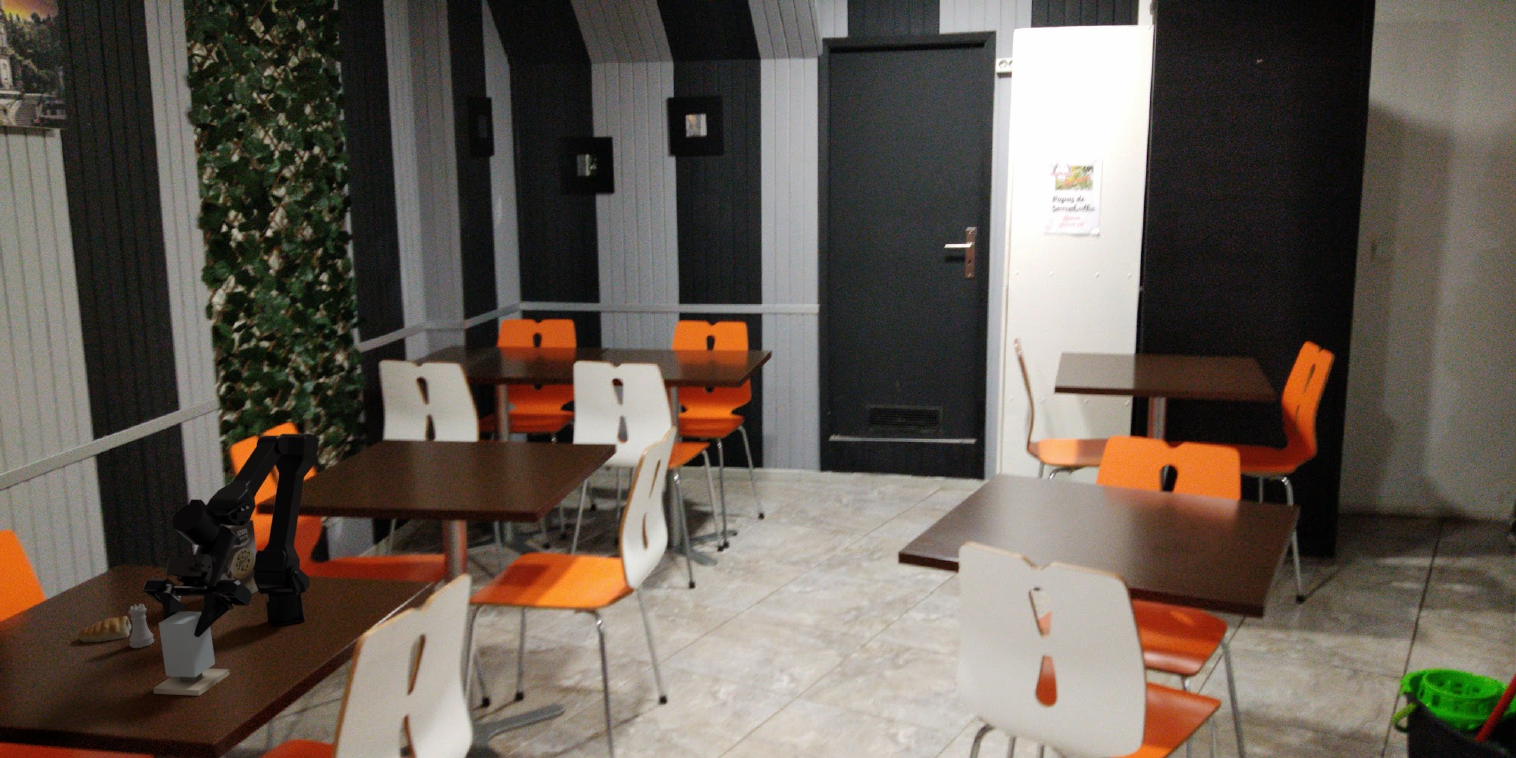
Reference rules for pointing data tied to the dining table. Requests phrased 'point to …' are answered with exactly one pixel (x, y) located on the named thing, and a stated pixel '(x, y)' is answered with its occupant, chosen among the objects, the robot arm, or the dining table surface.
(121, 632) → the pastry
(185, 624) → the grey tall rectangular block
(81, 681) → the dining table surface
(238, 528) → the coffee box
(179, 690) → the post board
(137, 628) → the rook chess piece
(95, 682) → the dining table surface
